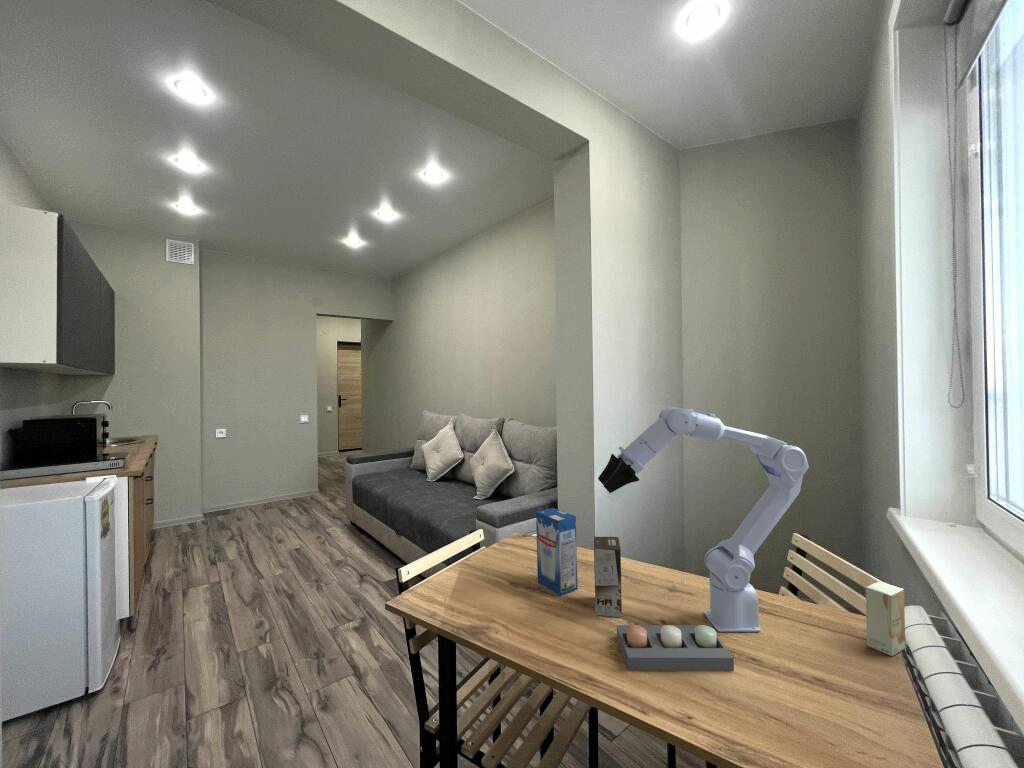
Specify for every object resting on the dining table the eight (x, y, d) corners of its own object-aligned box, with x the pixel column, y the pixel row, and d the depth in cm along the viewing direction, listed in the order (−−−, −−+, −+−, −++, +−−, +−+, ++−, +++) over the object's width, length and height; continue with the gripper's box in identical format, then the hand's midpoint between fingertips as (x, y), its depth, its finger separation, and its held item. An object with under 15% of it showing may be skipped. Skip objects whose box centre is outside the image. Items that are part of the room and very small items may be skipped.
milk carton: (577, 590, 114) (576, 516, 114) (560, 596, 110) (558, 520, 110) (554, 576, 122) (553, 507, 122) (537, 582, 119) (535, 511, 119)
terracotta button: (644, 639, 89) (643, 625, 89) (649, 651, 85) (649, 636, 85) (625, 639, 89) (624, 625, 89) (629, 651, 85) (629, 636, 85)
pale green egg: (711, 639, 88) (711, 625, 88) (720, 651, 84) (719, 636, 84) (692, 639, 88) (691, 625, 88) (699, 651, 84) (699, 636, 84)
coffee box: (622, 617, 100) (621, 550, 100) (595, 615, 101) (593, 548, 101) (620, 598, 109) (619, 536, 109) (595, 596, 110) (593, 535, 110)
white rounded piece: (677, 639, 88) (677, 625, 88) (684, 651, 84) (684, 636, 84) (658, 639, 89) (658, 625, 89) (664, 651, 85) (664, 636, 85)
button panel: (709, 636, 92) (709, 625, 92) (734, 670, 81) (733, 657, 81) (616, 636, 92) (616, 625, 92) (628, 670, 81) (628, 657, 81)
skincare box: (892, 657, 83) (890, 596, 83) (865, 646, 87) (864, 587, 87) (907, 647, 86) (905, 588, 86) (880, 636, 90) (879, 579, 90)
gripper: (627, 430, 105) (587, 467, 105) (643, 437, 90) (596, 479, 91) (646, 451, 105) (606, 488, 105) (665, 461, 90) (619, 504, 91)
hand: (603, 485), depth 98 cm, fingers open, 7 cm apart
